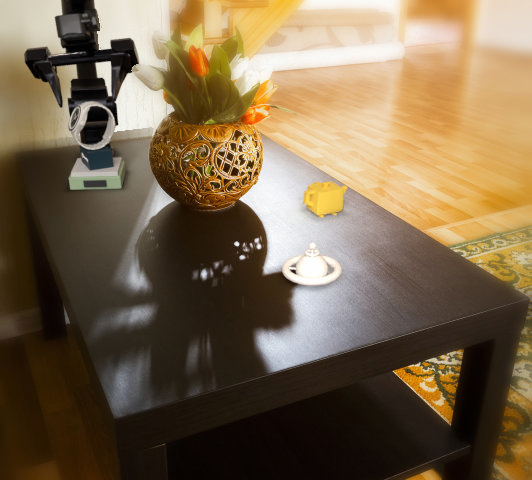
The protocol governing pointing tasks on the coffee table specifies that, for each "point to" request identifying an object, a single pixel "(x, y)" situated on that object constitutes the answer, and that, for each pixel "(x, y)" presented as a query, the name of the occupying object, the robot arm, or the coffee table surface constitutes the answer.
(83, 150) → the watch
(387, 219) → the coffee table surface
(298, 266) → the ring around a ball
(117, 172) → the scale
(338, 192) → the teapot
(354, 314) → the coffee table surface
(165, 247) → the coffee table surface
